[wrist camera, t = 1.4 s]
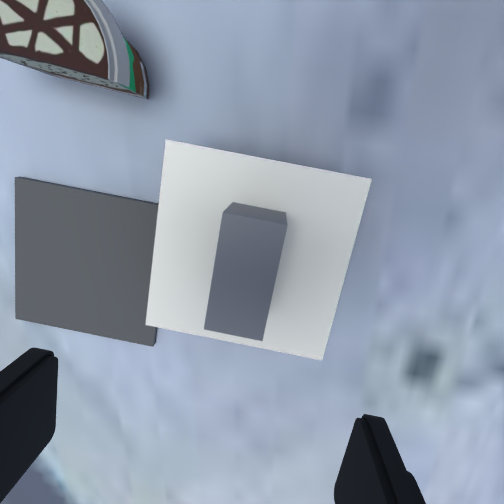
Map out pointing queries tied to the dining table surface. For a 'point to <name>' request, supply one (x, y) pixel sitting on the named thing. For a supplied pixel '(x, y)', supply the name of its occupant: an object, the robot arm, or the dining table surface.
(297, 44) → the dining table surface
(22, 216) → the rubber mat
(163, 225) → the lid
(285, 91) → the dining table surface
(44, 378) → the robot arm
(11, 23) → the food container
